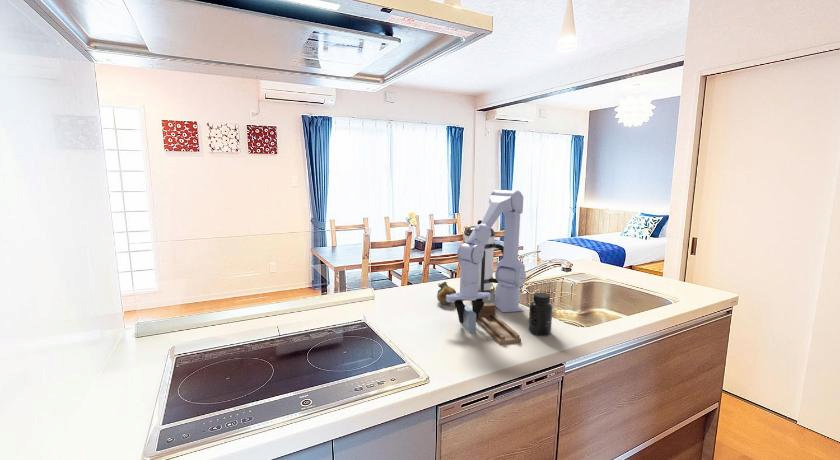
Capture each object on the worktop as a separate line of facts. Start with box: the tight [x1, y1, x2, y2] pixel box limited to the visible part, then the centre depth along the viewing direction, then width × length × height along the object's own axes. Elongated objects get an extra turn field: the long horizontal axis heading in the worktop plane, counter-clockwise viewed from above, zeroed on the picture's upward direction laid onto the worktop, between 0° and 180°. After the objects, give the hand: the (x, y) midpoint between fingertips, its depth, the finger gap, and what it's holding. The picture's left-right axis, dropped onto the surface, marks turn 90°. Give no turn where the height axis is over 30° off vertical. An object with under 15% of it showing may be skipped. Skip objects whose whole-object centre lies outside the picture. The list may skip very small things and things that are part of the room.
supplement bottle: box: [528, 292, 554, 336], centre depth 120 cm, size 7×7×12 cm
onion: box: [436, 281, 457, 305], centre depth 146 cm, size 8×8×8 cm
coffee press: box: [462, 219, 504, 292], centre depth 160 cm, size 17×16×30 cm
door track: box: [476, 302, 522, 345], centre depth 122 cm, size 20×7×5 cm, turn 14°
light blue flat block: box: [461, 303, 477, 333], centre depth 124 cm, size 9×2×6 cm, turn 14°
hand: (467, 321), depth 124 cm, fingers open, 4 cm apart
